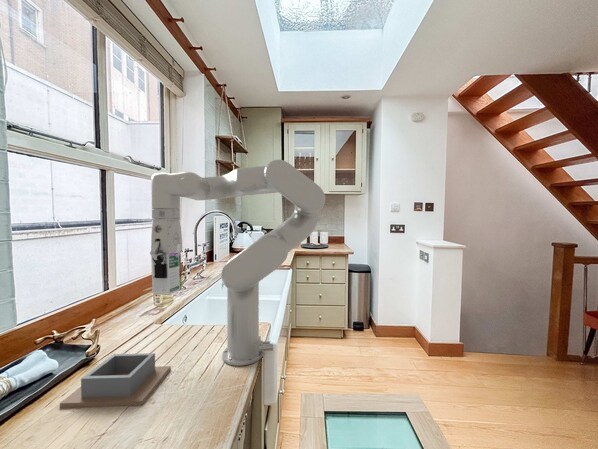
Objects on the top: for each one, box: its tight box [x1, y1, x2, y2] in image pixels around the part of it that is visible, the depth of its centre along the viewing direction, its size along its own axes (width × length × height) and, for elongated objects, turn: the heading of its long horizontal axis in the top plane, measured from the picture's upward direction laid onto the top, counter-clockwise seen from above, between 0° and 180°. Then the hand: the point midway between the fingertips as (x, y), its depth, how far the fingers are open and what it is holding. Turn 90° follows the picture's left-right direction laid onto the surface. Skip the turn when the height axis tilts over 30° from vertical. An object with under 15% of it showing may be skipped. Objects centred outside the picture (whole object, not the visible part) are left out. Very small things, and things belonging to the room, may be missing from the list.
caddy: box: [59, 352, 172, 409], centre depth 65 cm, size 18×14×6 cm
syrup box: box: [150, 244, 183, 296], centre depth 77 cm, size 6×6×14 cm
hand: (167, 274), depth 77 cm, fingers closed on syrup box, 6 cm apart
